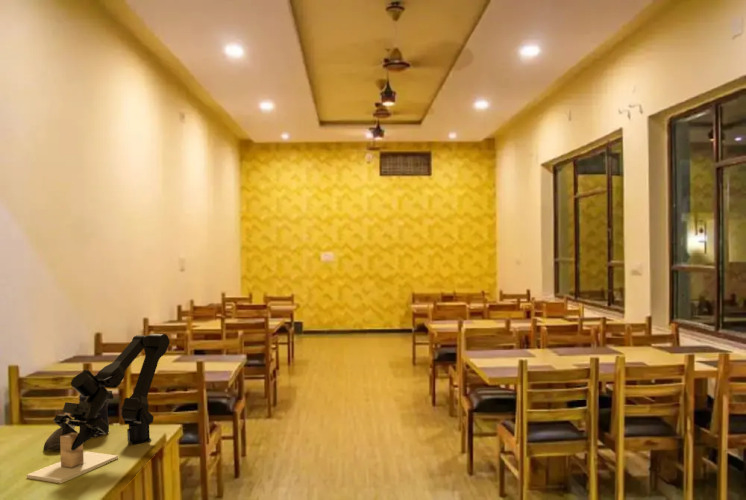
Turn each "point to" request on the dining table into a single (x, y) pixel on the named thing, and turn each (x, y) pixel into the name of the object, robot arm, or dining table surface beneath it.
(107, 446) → the dining table surface
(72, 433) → the block
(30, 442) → the dining table surface
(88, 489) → the dining table surface
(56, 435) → the stone
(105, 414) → the storage jar
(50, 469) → the board
